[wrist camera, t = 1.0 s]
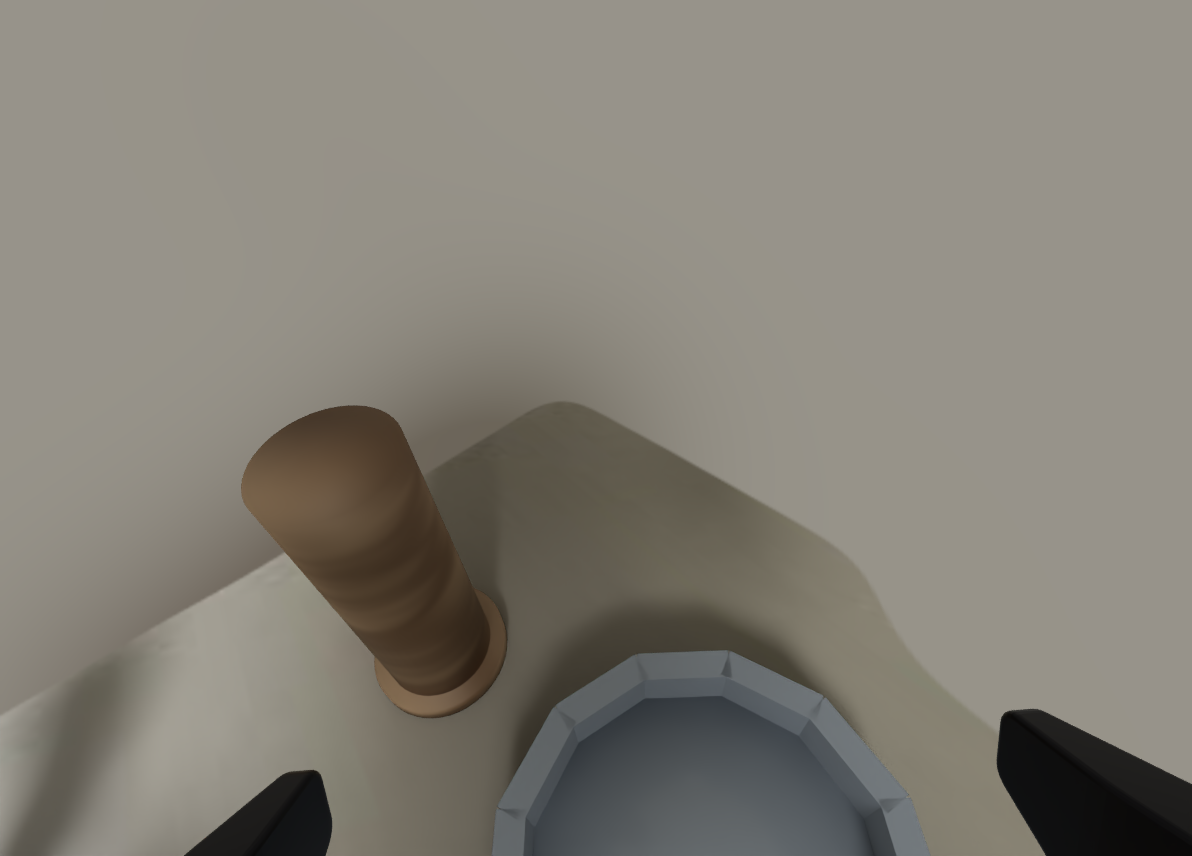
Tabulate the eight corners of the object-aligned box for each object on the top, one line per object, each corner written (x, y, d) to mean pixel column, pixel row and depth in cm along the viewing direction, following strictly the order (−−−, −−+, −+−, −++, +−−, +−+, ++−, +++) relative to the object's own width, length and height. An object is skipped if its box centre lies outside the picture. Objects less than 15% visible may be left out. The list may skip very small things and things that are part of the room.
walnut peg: (453, 745, 22) (314, 582, 13) (353, 677, 24) (173, 495, 15) (531, 624, 26) (465, 426, 16) (437, 574, 28) (332, 373, 18)
